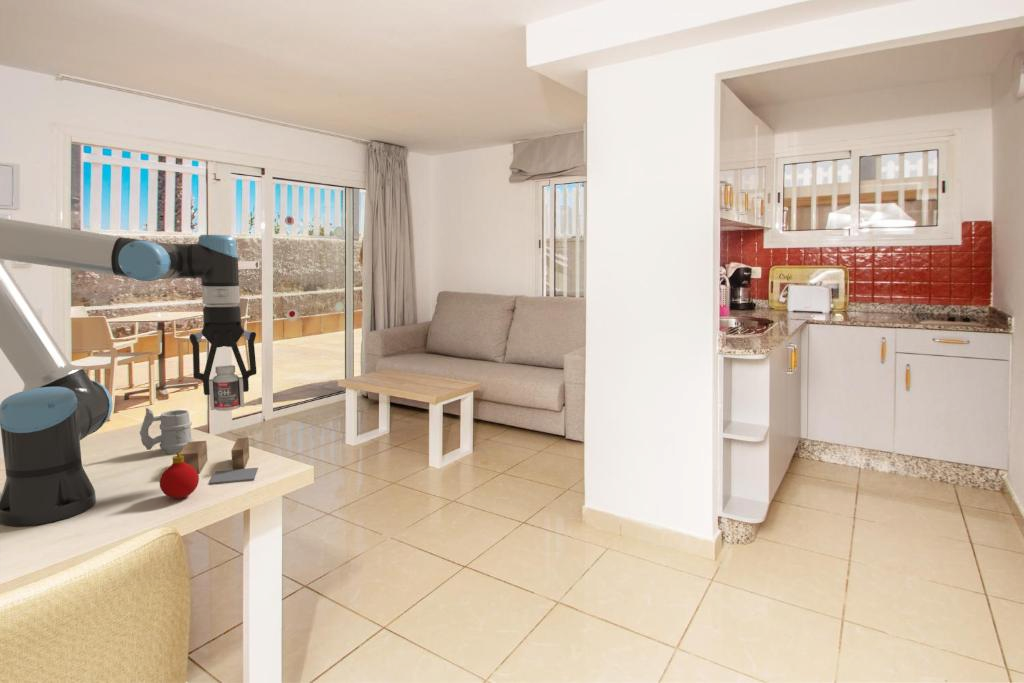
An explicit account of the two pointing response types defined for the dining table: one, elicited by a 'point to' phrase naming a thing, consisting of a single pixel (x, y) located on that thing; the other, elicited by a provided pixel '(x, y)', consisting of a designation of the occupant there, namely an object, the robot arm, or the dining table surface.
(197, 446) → the block
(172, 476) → the christmas ornament
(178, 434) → the mug
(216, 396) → the pill bottle
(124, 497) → the dining table surface
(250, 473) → the pad
